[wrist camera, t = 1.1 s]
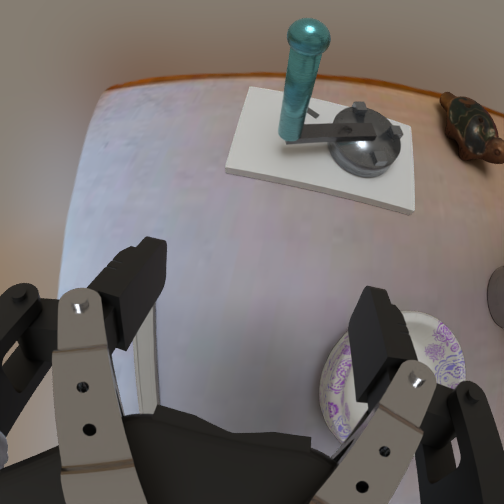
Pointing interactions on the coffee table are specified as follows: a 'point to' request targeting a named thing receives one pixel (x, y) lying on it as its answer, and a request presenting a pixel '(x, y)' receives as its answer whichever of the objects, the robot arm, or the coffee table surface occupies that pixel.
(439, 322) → the paper bowls
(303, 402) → the coffee table surface
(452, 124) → the decorative turtle
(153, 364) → the adjustable wrench
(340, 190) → the white rectangular board
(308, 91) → the teal handled crank
